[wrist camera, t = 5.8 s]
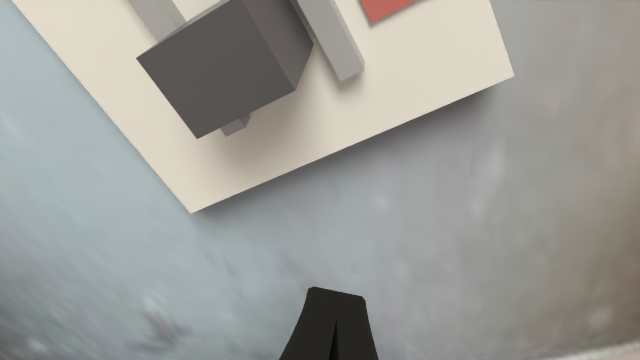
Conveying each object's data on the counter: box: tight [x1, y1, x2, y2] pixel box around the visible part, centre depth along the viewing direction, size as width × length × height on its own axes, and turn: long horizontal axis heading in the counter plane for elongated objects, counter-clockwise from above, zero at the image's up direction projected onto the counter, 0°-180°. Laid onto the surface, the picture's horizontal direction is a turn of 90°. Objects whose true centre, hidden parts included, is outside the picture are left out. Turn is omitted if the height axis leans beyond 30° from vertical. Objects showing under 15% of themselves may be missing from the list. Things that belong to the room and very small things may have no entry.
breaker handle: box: [136, 0, 314, 139], centre depth 12 cm, size 2×3×4 cm
